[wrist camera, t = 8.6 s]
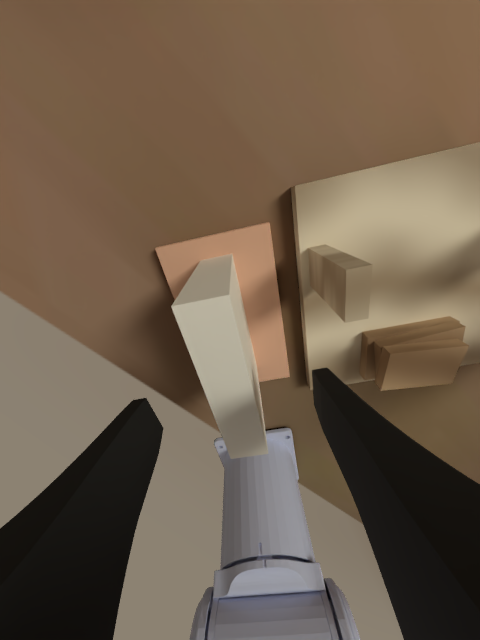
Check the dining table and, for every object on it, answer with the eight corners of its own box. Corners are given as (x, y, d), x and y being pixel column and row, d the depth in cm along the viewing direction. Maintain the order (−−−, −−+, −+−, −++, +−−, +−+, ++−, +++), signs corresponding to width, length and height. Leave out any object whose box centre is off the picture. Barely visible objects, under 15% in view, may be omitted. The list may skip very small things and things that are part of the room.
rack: (475, 353, 18) (575, 415, 13) (306, 381, 19) (334, 449, 14) (561, 123, 11) (859, 47, 6) (290, 187, 12) (332, 173, 7)
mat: (288, 371, 19) (289, 376, 18) (209, 385, 19) (208, 390, 19) (268, 221, 13) (269, 222, 13) (158, 246, 14) (154, 248, 13)
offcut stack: (437, 360, 17) (466, 382, 15) (359, 373, 17) (376, 396, 15) (450, 313, 15) (485, 331, 13) (362, 329, 16) (382, 349, 13)
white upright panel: (232, 253, 13) (229, 294, 7) (256, 365, 17) (268, 454, 11) (200, 260, 13) (170, 306, 7) (232, 369, 18) (230, 459, 11)
